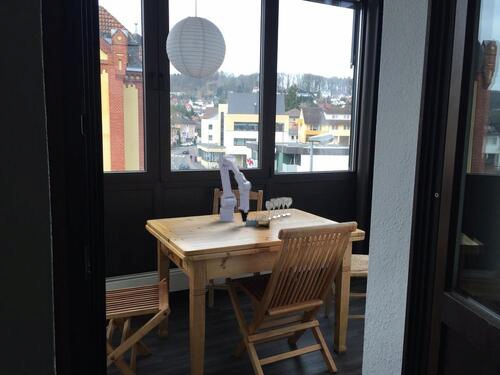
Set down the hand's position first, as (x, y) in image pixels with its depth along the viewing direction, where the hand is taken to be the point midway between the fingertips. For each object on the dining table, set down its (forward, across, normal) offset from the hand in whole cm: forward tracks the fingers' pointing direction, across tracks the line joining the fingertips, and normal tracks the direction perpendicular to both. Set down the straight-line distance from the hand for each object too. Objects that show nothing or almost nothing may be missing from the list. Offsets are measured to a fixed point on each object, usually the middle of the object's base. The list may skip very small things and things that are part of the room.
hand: (244, 221), depth 269 cm
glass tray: (+2, +1, +5) cm, 6 cm away
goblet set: (+2, -28, +29) cm, 41 cm away
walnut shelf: (+2, +2, +12) cm, 12 cm away
